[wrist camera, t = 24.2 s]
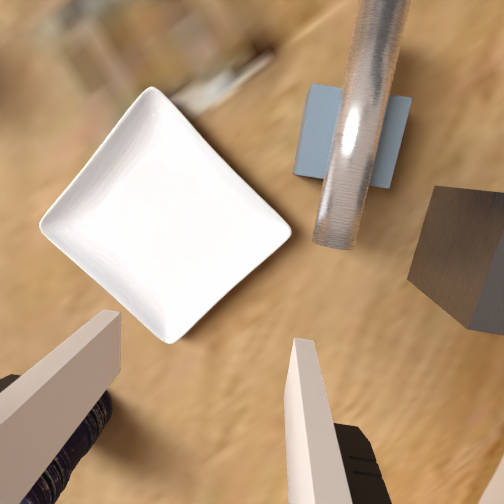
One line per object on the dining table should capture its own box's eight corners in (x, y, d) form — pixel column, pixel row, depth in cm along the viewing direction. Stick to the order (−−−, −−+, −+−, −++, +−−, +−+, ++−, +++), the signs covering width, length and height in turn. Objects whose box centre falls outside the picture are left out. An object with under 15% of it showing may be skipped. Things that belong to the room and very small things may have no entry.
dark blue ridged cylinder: (89, 363, 43) (-3, 460, 29) (126, 418, 45) (57, 534, 31) (33, 387, 45) (-80, 490, 31) (71, 438, 47) (-19, 558, 33)
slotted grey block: (434, 185, 34) (516, 194, 23) (527, 199, 34) (658, 215, 22) (407, 279, 37) (467, 329, 26) (492, 292, 37) (592, 349, 25)
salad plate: (51, 223, 39) (30, 228, 35) (161, 88, 34) (149, 79, 31) (177, 336, 42) (169, 350, 38) (295, 226, 37) (297, 231, 34)
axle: (352, 14, 27) (366, -15, 23) (398, 20, 27) (419, -7, 23) (309, 237, 32) (314, 245, 28) (348, 243, 32) (359, 252, 28)
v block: (306, 96, 33) (311, 83, 28) (392, 108, 33) (412, 97, 28) (292, 173, 35) (295, 174, 30) (373, 185, 35) (389, 188, 30)
